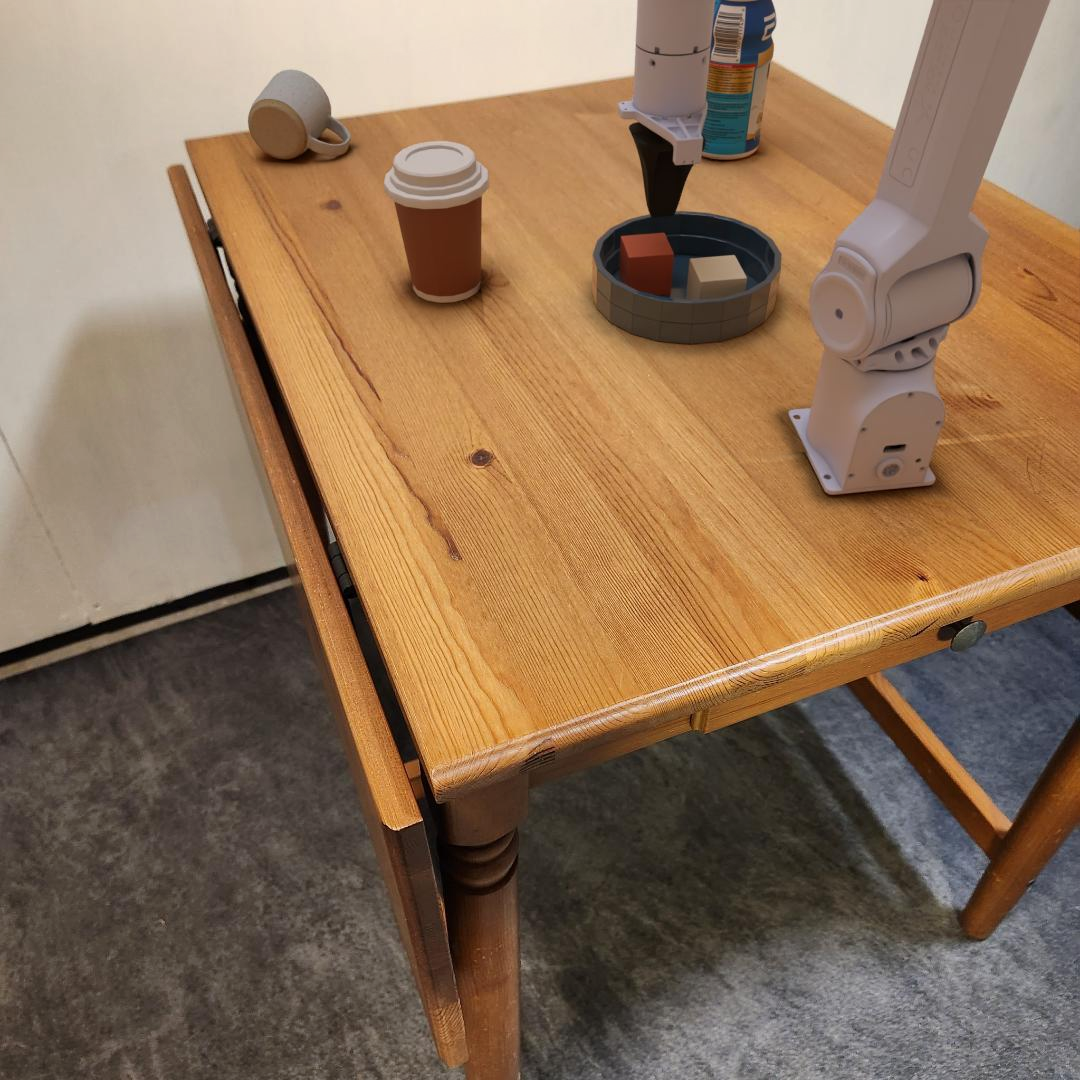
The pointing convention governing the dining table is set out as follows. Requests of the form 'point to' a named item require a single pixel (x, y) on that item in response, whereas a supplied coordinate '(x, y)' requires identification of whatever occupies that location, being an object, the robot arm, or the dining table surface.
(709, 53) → the robot arm
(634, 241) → the terracotta block
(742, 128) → the beverage bottle
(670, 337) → the bowl
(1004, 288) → the dining table surface
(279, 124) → the ceramic mug
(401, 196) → the coffee cup
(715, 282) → the cream block
